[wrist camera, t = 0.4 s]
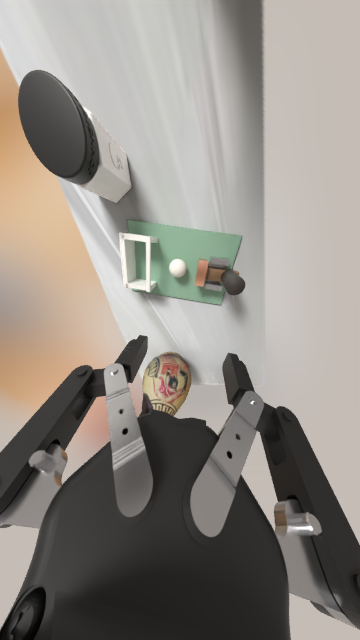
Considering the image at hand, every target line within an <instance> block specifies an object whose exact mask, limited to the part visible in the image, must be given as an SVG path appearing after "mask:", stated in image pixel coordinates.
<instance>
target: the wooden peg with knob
mask: <svg viewBox="0 0 360 640" xmlns="http://www.w3.org/2000/svg"><path fill="white" fill-rule="evenodd" d="M208 264H209V262H208V260H204V259H199V262H198V268H197V273H196V279H195V285H196V286H202V287H204V282H205V279H207V280H213V281H219V282H222V283H223V285H224V287H225V289H226V291H227V292H228V293H229V294H231V295H238V294H240V293H241V292H242V291H243V290H244V288H245V282H244V280H243V279H242V278H241V277H240V276H239V272H237V271H233V270H227V269H220V268H214V267H208Z"/></svg>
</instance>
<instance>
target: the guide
mask: <svg viewBox="0 0 360 640" xmlns="http://www.w3.org/2000/svg"><path fill="white" fill-rule="evenodd" d="M230 261H231V260H230V259H227V258H221V257H214V256H211V257H210V262H209V266H208V267H214V268H220V269H226V266H229V264H230ZM221 283H222V282H219V281H213V280H207V279H206V280H205V284H204V287H205V289H210V290H216V291H222V288H223V286H222V284H221Z"/></svg>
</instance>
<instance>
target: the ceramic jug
mask: <svg viewBox="0 0 360 640" xmlns="http://www.w3.org/2000/svg"><path fill="white" fill-rule="evenodd" d="M190 385H191V373H190V369H189V367H188V365H187V364H186V362H185V361H184V360H183V358H182V357H181V356H180V355H178V354H177V353H173V352H167V353H164V354H161V355H160V356H158V357H155V358H154V359H153V360H152V361H151V362H150V363H149V364H148V366H147V368H146V370H145V373H144V377H143V402H142V412H141V414H140V415H139V416H141V415H144V414H147V413H151V411H152V409H155V410H159V411H164V412H166V413H168V414H170V415H172V416H174V415H175V413H176V412H177V411H178V409H179V408H180V407H181V405H182V404H183V403H184V401H185V399H186V397H187V395H188V392H189V388H190Z"/></svg>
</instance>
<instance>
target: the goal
mask: <svg viewBox="0 0 360 640" xmlns="http://www.w3.org/2000/svg"><path fill="white" fill-rule="evenodd" d="M119 241H120V251H121V261H122V272H123V282H124V287H127V288H133V289H140V290H146V292H150V291H151V290H152V289H153V288H154V287H155V286H156V281H151V243H158V238H157V237H151V236H144V235H137V234H130V233H121V232H119ZM135 241H142V242H146V280H143V279H137V278H136V259H135Z"/></svg>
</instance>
